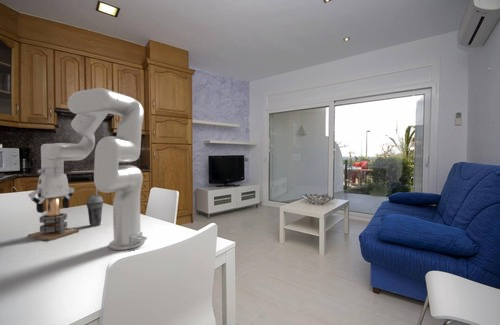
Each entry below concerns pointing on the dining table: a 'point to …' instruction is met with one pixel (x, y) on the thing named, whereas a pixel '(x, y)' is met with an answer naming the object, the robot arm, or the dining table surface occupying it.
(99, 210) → the beverage cup
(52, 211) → the copper tube
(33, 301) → the dining table surface
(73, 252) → the dining table surface
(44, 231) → the collar stand
